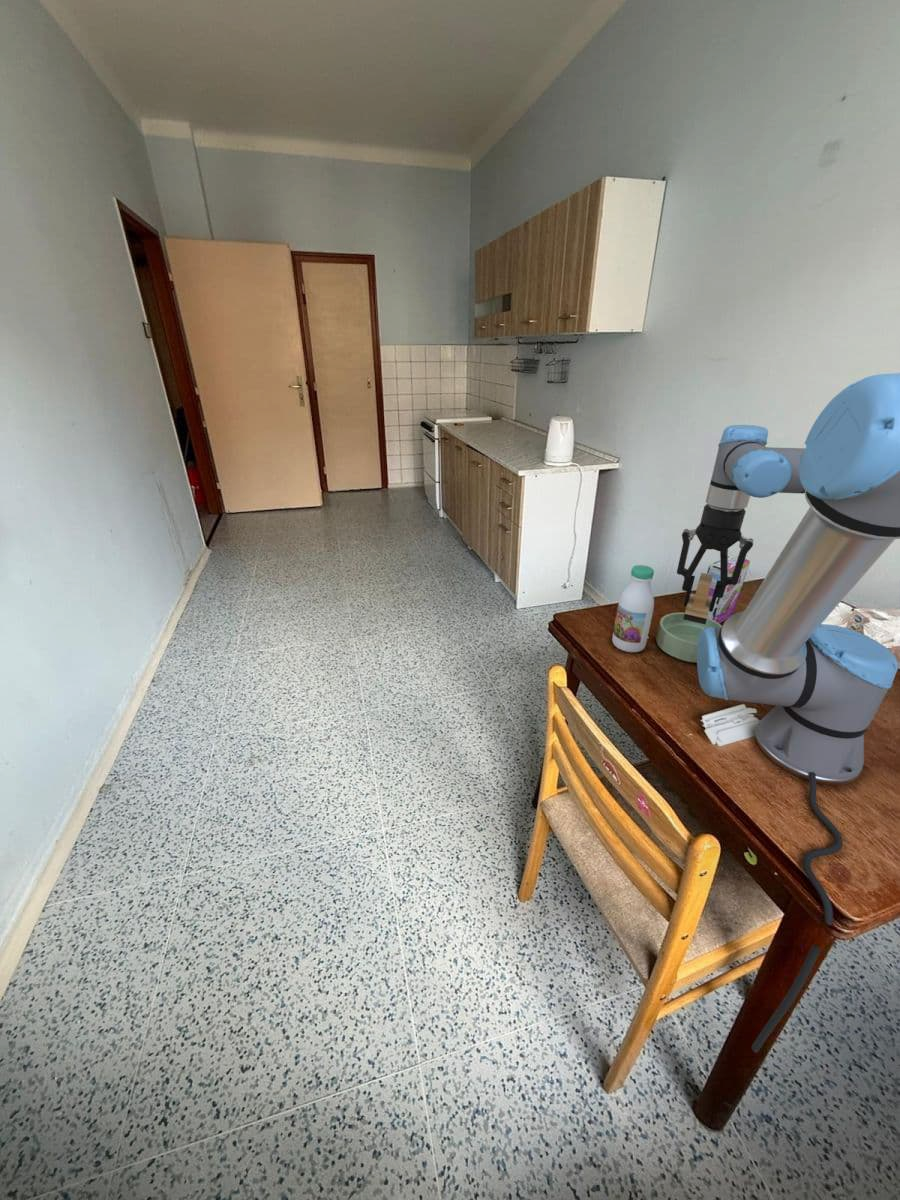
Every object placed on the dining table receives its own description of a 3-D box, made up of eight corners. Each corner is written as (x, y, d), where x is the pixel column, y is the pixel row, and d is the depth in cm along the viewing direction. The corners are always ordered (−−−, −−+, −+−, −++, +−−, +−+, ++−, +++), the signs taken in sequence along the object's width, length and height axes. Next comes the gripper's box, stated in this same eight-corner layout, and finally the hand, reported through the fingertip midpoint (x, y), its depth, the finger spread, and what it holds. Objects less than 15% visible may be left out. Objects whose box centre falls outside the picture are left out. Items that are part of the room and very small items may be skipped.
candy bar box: (711, 630, 118) (728, 571, 110) (692, 622, 122) (707, 564, 114) (733, 617, 124) (751, 559, 116) (714, 609, 127) (731, 553, 120)
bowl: (718, 672, 103) (725, 651, 101) (650, 653, 110) (655, 633, 107) (723, 641, 114) (729, 621, 111) (661, 626, 120) (665, 607, 118)
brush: (705, 624, 104) (715, 588, 99) (683, 619, 106) (692, 583, 102) (708, 608, 110) (718, 574, 105) (687, 604, 112) (696, 570, 108)
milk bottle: (625, 632, 118) (639, 559, 109) (652, 646, 112) (669, 570, 103) (604, 641, 115) (617, 566, 105) (631, 657, 109) (646, 579, 99)
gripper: (775, 507, 94) (743, 608, 106) (681, 495, 102) (660, 590, 114) (776, 518, 89) (741, 623, 100) (676, 505, 97) (654, 604, 108)
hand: (698, 605), depth 107 cm, fingers closed on brush, 4 cm apart
